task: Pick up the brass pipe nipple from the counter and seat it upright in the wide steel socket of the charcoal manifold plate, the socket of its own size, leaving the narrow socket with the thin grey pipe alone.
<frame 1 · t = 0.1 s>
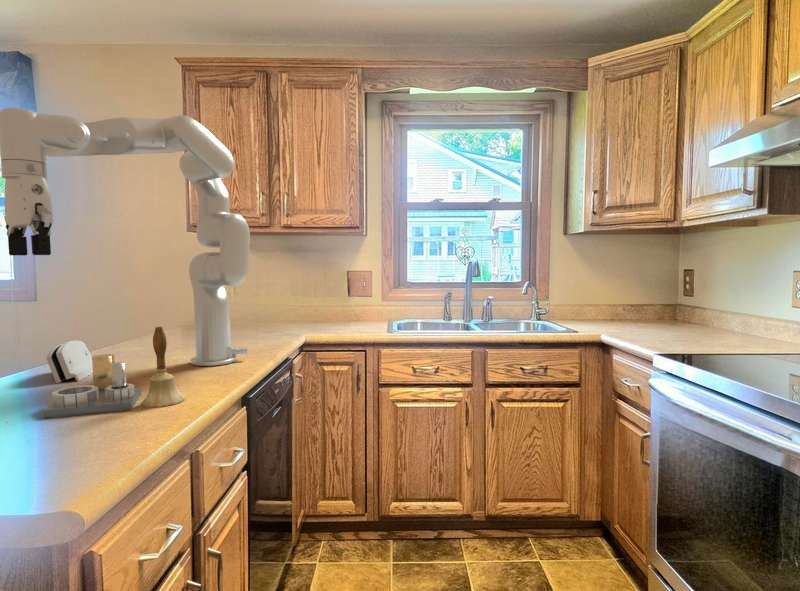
hand: (29, 255, 105), 31 cm above the countertop, tool pointing down, fingers open, 9 cm apart
hand bell: (163, 402, 106), on the countertop
brass nipple: (105, 390, 115), on the countertop
manifold plate: (95, 405, 103), on the countertop
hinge: (74, 376, 131), on the countertop
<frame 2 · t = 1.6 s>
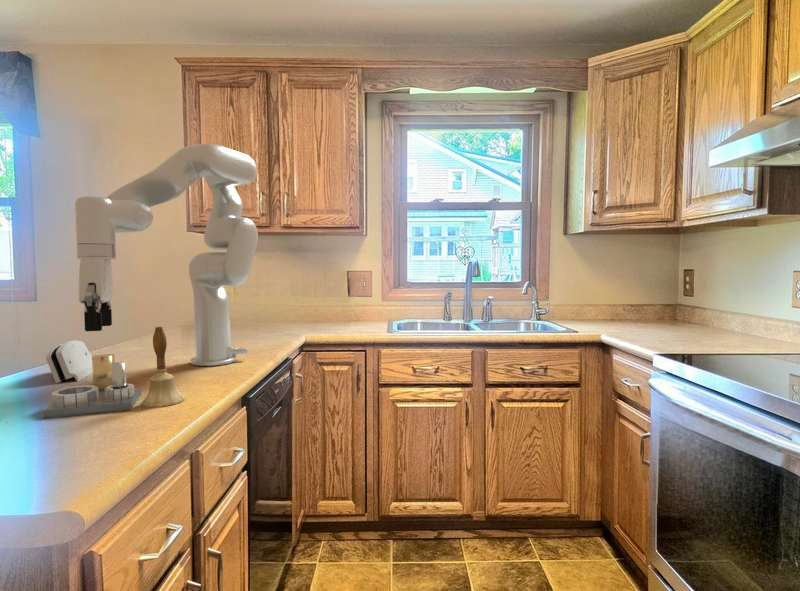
hand: (99, 328, 114), 14 cm above the countertop, tool pointing down, fingers open, 9 cm apart
nothing on the countertop moved.
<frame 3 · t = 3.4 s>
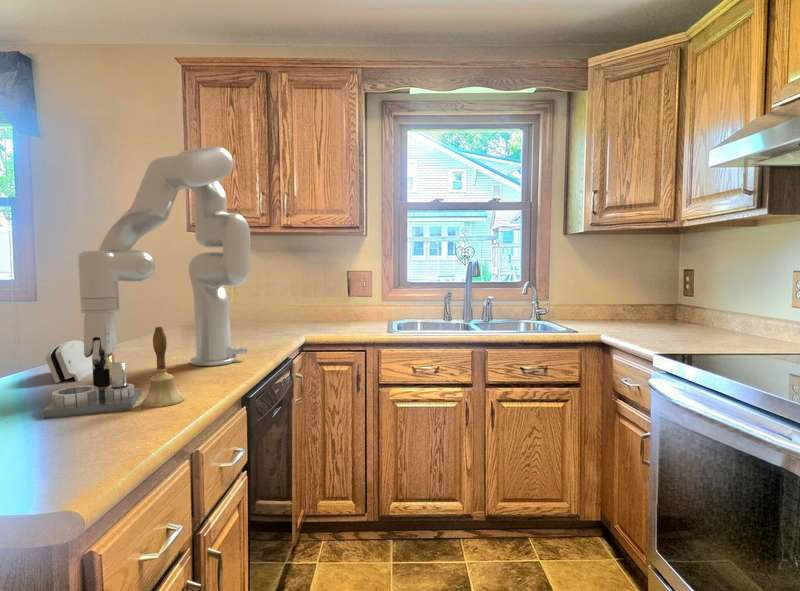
hand: (104, 383, 115), 2 cm above the countertop, tool pointing down, fingers closed on brass nipple, 4 cm apart
brass nipple: (105, 390, 115), on the countertop, touching gripper
everything else where it was.
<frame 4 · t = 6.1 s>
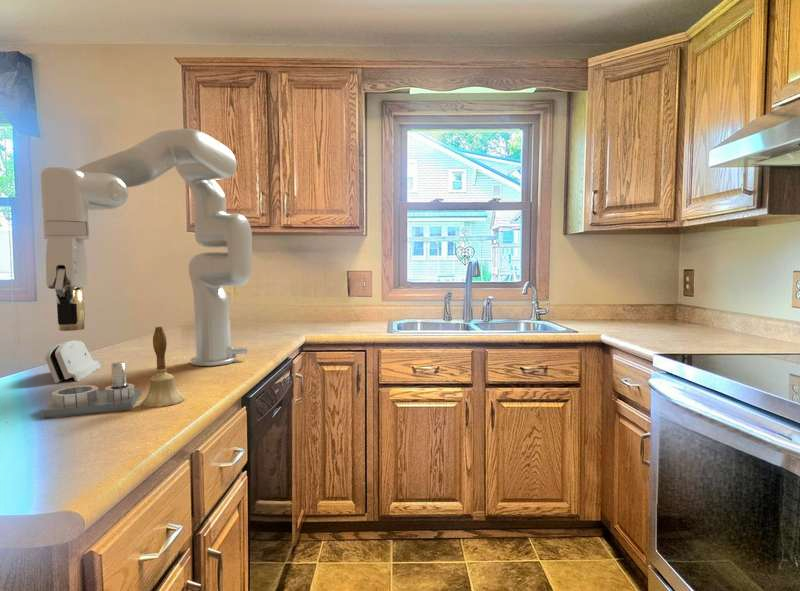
hand: (71, 321, 101), 18 cm above the countertop, tool pointing down, fingers closed on brass nipple, 4 cm apart
brass nipple: (72, 329, 101), point 16 cm above the countertop, touching gripper
everything else where it was.
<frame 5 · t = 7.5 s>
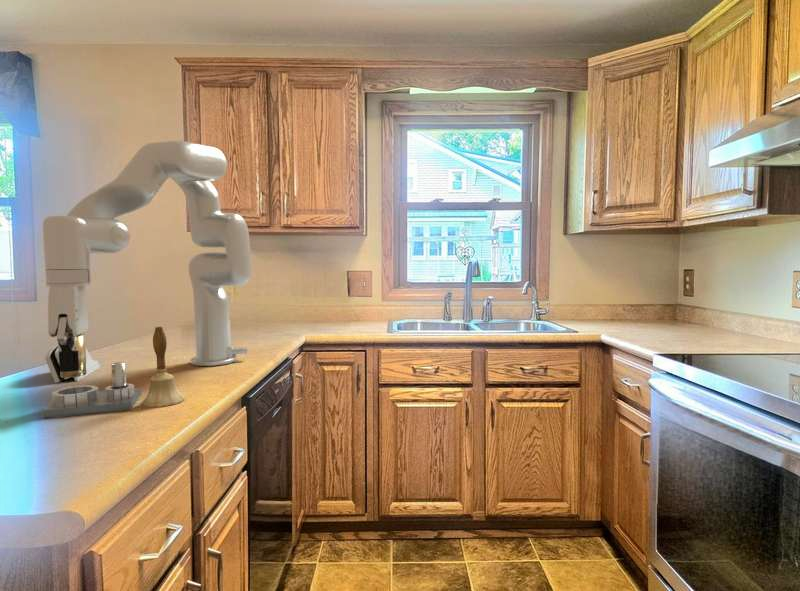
hand: (73, 367, 102), 8 cm above the countertop, tool pointing down, fingers closed on brass nipple, 4 cm apart
brass nipple: (73, 375, 102), point 7 cm above the countertop, touching gripper
everything else where it was.
when the fingers open (4 cm above the countertop, at t = 8.7 s): brass nipple drops 1 cm, resting on manifold plate.
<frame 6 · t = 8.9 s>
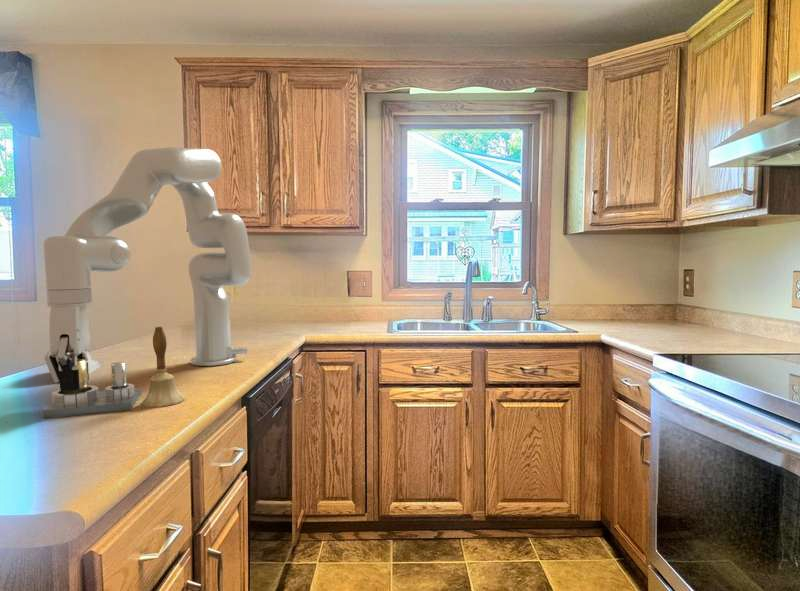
hand: (75, 385, 102), 5 cm above the countertop, tool pointing down, fingers open, 6 cm apart
brass nipple: (76, 399, 102), point 2 cm above the countertop, touching manifold plate
everything else where it was.
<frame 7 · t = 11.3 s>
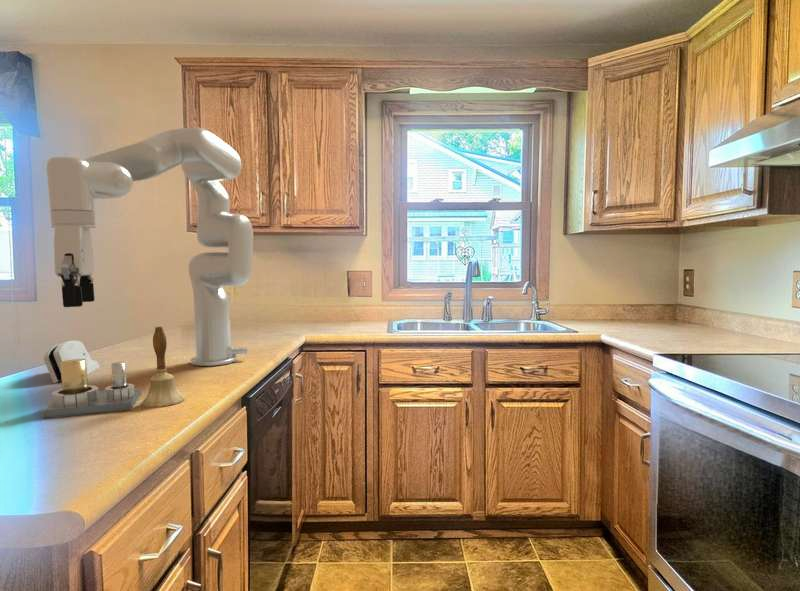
hand: (79, 304, 103), 21 cm above the countertop, tool pointing down, fingers open, 9 cm apart
nothing on the countertop moved.
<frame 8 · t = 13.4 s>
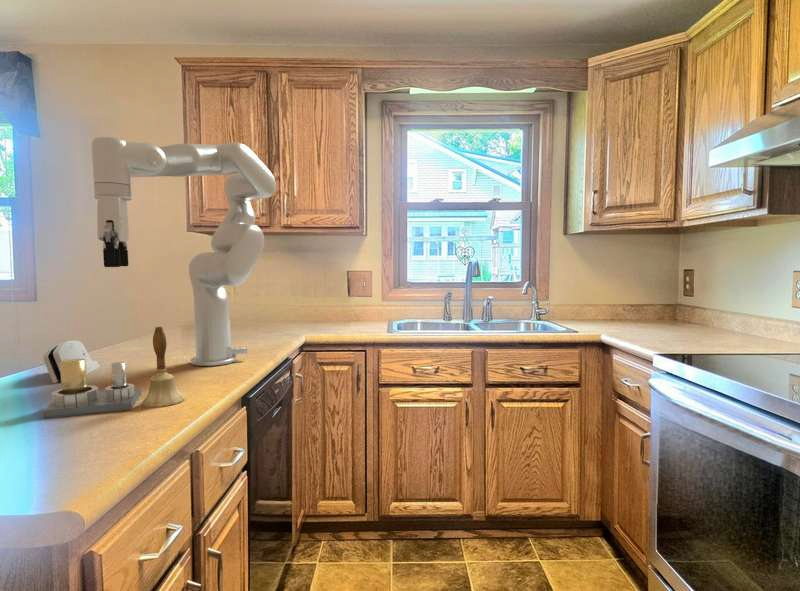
hand: (116, 266, 118), 28 cm above the countertop, tool pointing down, fingers open, 9 cm apart
nothing on the countertop moved.
at the end: brass nipple 0.1 cm from the target spot on the manifold plate, point 1.6 cm above the manifold plate's base; brass nipple tilted 2°; the gripper is holding nothing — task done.
